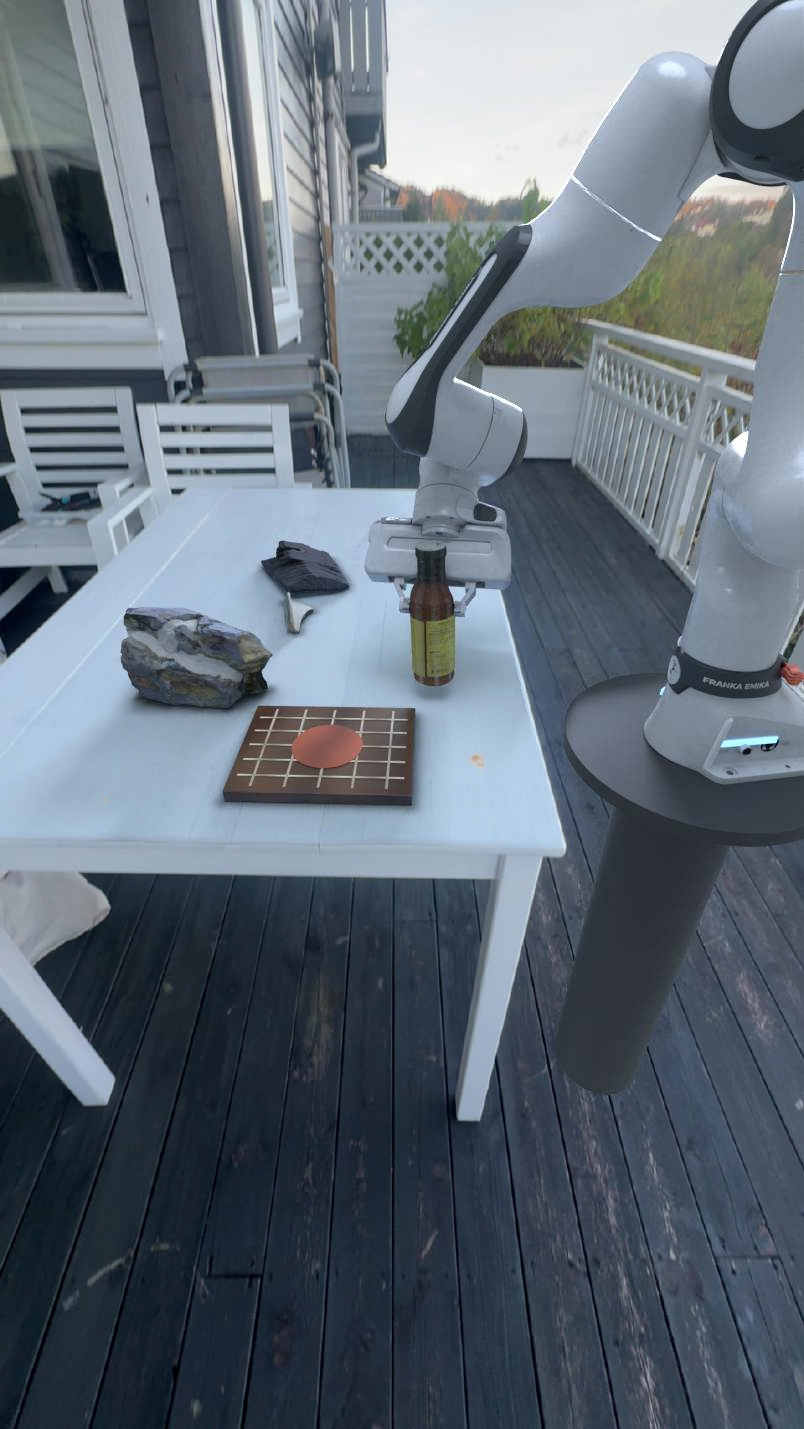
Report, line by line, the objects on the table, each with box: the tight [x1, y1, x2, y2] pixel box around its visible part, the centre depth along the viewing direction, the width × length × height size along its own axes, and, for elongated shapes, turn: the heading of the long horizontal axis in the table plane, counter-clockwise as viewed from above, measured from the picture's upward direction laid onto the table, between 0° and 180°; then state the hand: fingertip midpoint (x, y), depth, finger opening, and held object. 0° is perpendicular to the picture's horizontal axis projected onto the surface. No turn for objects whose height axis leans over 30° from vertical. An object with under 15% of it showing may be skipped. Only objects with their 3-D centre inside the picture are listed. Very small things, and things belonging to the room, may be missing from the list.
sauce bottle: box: [409, 540, 456, 687], centre depth 86 cm, size 6×6×20 cm
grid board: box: [222, 704, 416, 806], centre depth 80 cm, size 22×18×2 cm
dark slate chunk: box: [260, 540, 351, 594], centre depth 128 cm, size 15×22×5 cm
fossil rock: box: [120, 606, 273, 709], centre depth 89 cm, size 20×9×15 cm, turn 76°
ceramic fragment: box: [283, 591, 314, 634], centre depth 113 cm, size 14×5×4 cm, turn 11°
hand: (432, 614), depth 85 cm, fingers closed on sauce bottle, 6 cm apart
